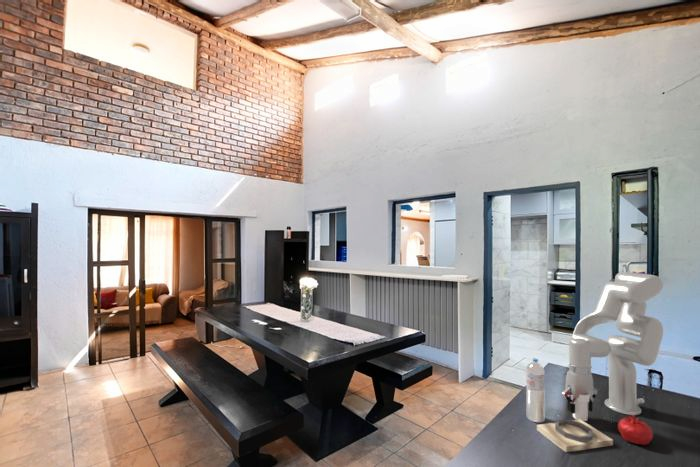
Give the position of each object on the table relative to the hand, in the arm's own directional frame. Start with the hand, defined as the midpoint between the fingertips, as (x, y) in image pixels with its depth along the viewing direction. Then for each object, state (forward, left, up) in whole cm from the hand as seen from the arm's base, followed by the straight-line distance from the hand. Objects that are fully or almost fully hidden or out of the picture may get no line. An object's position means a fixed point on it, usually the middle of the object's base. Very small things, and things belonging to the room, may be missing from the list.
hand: (579, 410), depth 143 cm
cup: (0, 0, -3) cm, 3 cm away
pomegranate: (-7, +17, -3) cm, 19 cm away
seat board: (+14, +11, -3) cm, 18 cm away
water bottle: (+19, -3, -3) cm, 19 cm away
